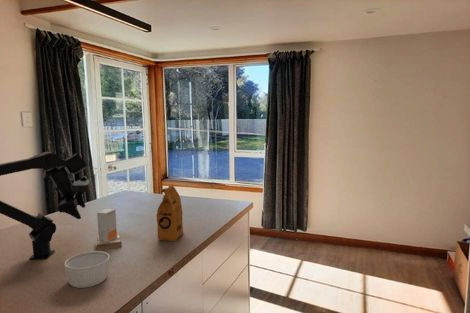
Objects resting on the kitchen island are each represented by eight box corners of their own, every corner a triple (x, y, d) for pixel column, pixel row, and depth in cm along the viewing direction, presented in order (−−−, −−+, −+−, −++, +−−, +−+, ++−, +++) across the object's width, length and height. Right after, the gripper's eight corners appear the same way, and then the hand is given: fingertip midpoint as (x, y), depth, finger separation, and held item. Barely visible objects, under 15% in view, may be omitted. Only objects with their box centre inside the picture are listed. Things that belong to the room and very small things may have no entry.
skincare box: (107, 242, 128) (105, 213, 127) (98, 241, 130) (96, 212, 128) (117, 237, 134) (115, 209, 132) (109, 236, 135) (107, 208, 134)
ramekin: (108, 266, 114) (106, 247, 113) (114, 283, 102) (112, 262, 101) (65, 276, 107) (63, 256, 106) (66, 295, 96) (64, 272, 95)
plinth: (121, 247, 130) (121, 241, 129) (97, 251, 126) (96, 245, 126) (120, 239, 138) (120, 234, 138) (97, 243, 135) (97, 237, 134)
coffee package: (153, 241, 135) (150, 189, 133) (165, 230, 148) (162, 183, 145) (176, 242, 134) (174, 189, 131) (186, 231, 146) (184, 183, 143)
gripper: (77, 183, 119) (97, 217, 126) (86, 164, 136) (104, 194, 142) (47, 195, 118) (69, 228, 125) (60, 174, 135) (79, 204, 141)
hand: (82, 212), depth 133 cm, fingers open, 9 cm apart
